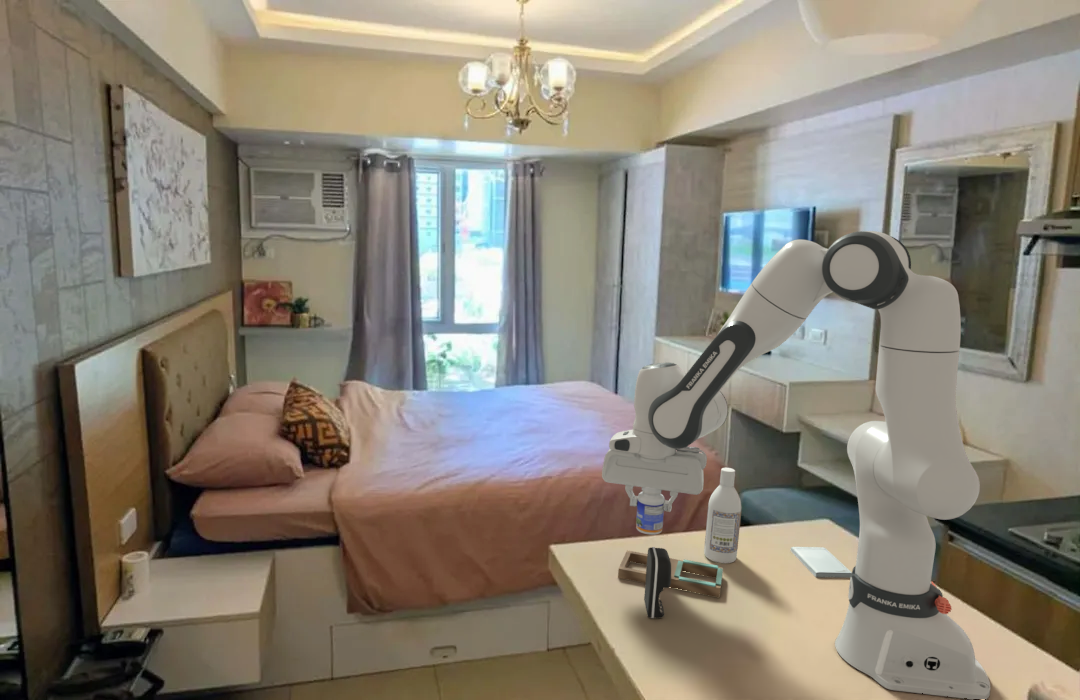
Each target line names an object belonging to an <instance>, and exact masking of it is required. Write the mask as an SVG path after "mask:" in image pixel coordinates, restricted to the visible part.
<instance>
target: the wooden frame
mask: <svg viewBox="0 0 1080 700" xmlns="http://www.w3.org/2000/svg"><path fill="white" fill-rule="evenodd" d="M647 555H648V553H643V552H639V551H633V550H628V549H627V550H626V552H625V554H624V556H623V558H622V560H621V562H620V565H619V567H618V570H617V571H618V572H617V573H618V574H617V579H623V580H626V581H631V582H636V583H642V584H645V582H646V570H640V569H634V568H630V567H629V565H630V564H631V563H633V564H634V563H635V564H640V565H645V566H647ZM669 558H670V562H671V585H670V587H671V588H670V589H672V588H678V589H682V590H687V591H691V592H690V593H692V592H696V593H695V594H697V593H700V594H699V595H703V594H704V596H708V595H709V596H708V597H712V598H713V597H714V598H718V597H719V598H718V599H720V596H721V588H722V582H723V575H724V573H723V571H724V568H723V567H720V566H719V565H716V564H710V563H706V562H700V561H694V560H688V559H683V560H682V559H677V558H671V557H669ZM682 571H686V572H690V573H689V574H691V573H695V574H694V575H697V574H699V575H698V576H702V575H704V576H703V577H707V576H708V578H713V579H715V582H712V581H711V582H710V581H705V580H700V579H696V578H690V577H689V578H688V577H684V576H682V575H683V572H682ZM686 572H685V573H686ZM682 590H681V591H682ZM687 591H686V592H687Z"/></svg>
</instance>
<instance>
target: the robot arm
mask: <svg viewBox="0 0 1080 700" xmlns="http://www.w3.org/2000/svg"><path fill="white" fill-rule="evenodd" d="M911 268H912V260H911V255H910V253H909V250H908V249H907V247H906V246H905V245H904V244H903V242H901V241H900V240H899V239H897V238H896V237H894V236H891V235H889V234H887V233H884V232H881V231H878V230H877V231H876V230H864V231H863V230H862V231H854V232H850V233H847V234H845V235H842V236H840V237H838V239H836V240H835V241H834V242H833V243H832V244H831V245H830V246H829V247H828V248H826V247H824V246H822V245H820V244H818V243H817V242H815V241H811V240H808V239H795V240H794V239H793V240H791V241H789V242H787V243H785V245H783V246H782V248H780V249H779V250H778V251H777V252H776V254H774V255H773V256H772V258H770V260H769V261H768V262H767V263H766V264H765V265H764V266H763V268H761V270H760V271H759V272H758V274H757V275H756V277H754V279H753V280H752V281H751V283H750V284H749V286H748V287H747V289H746V291H745V292H744V293H743V294H742V297H741V298H740V299H739V301H738V303H737V304H736V306H735V307H734V309H733V311H732V312H731V313H730V315H729V317H728V318H727V320H726V321H725V323H724V324H723V325H722V327H721V329H720V330H719V332H717V334H716V336H715V337H714V339H712V341H711V342H710V343H709V344H708V346H707V347H706V348H705V350H704V351H703V352H702V353H701V355H700V356H699V357H698V359H697V360H696V361H695V362H694V363H693V365H692V366H691V367H690V369H689V370H688V371H687V373H686V372H685V371H684V370H682V368H681V367H680V365H678V364H677V363H674V362H656V363H651V364H647V365H644V366H643V367H642V368H640V369H639V371H638V374H637V377H636V383H635V389H634V400H633V404H634V405H633V407H634V412H635V417H634V420H633V424H632V429H628V430H622V431H618V432H616V433H614V434H613V435H612V436H611V438H610V440H609V443H608V447H609V449H608V450H607V452H606V453H605V455H604V458H603V462H602V463H603V465H602V470H601V471H602V472H601V477H602V480H603V481H604V482H606V483H611V484H617V485H622V486H624V485H625V487H624V488H625V492H626V494H627V496H628V498H629V507H636V508H637V502H638V495H635V493H634V490H633V489H634V487H638V488H642V487H652V488H656V489H659V490H662V491H667V492H669V496H670V498H669V500H667V499H665V500H664V505H663V506H664V508H663V511H664V512H669V513H671V511H672V508H673V507H672V505H673V502H674V501H676V498H678V494H679V493H682V494H688V495H700V494H701V492H703V490H704V484H705V483H704V469H705V468H706V467H707V459H708V457H707V454H706V452H705V451H704V450H702V449H701V448H700V447H699V446H698V447H696V446H690V445H691V444H693V443H695V442H696V440H698V439H701V438H703V437H705V436H707V435H709V434H711V433H713V432H715V431H716V430H718V429H719V428H721V426H723V425H724V424H725V422H726V420H727V418H728V413H729V407H728V406H729V405H728V401H727V399H726V397H725V395H724V394H723V392H722V391H721V390H722V389H723V388H724V387H725V385H726V384H727V383H728V382H729V380H730V379H731V378H732V377H733V376H734V375H735V374H736V372H738V371H739V370H740V369H741V368H742V367H744V366H746V365H747V364H748V363H750V362H751V361H753V360H755V359H757V358H758V357H760V356H763V355H764V354H766V353H769V352H771V351H772V350H775V349H777V348H778V347H780V346H782V344H784V342H786V341H787V340H788V339H789V338H791V336H792V335H794V334H795V332H797V331H798V330H799V328H800V327H801V326H802V325H803V323H804V322H806V319H807V318H808V317H809V316H810V314H812V312H813V311H814V309H815V308H816V306H817V305H818V304H819V303H820V302H821V301H822V300H823V299H824V298H825V297H827V296H828V295H830V294H832V293H834V294H835V295H836V296H838V297H840V298H842V299H844V300H846V301H848V302H852V303H855V304H858V305H861V306H864V307H867V308H869V309H872V310H878V313H879V316H880V334H879V345H878V355H877V368H876V376H875V377H876V378H875V380H876V381H875V394H876V397H877V400H878V402H879V403H880V407H881V409H882V412H883V416H884V421H883V420H882V421H881V420H871V421H866V422H864V423H862V424H859V425H858V426H857V427H856V428H855V429H853V431H852V432H851V434H850V436H849V437H848V441H847V447H846V452H847V456H848V459H849V461H850V464H851V465H852V468H853V469H852V470H853V473H854V478H855V488H856V496H857V502H858V503H857V505H858V513H859V535H858V542H857V552H856V553H857V554H856V561H855V562H856V563H855V566H854V567H853V568H852V570H851V572H852V576H851V578H849V579H850V580H849V587H848V595H847V596H848V597H847V598H848V601H849V604H848V608H847V612H846V615H845V618H844V620H843V624H842V626H841V628H840V631H839V634H838V635H837V637H836V639H835V641H834V647H835V648H836V649H835V650H836V651H837V653H838V654H839V656H840V657H841V658H842V659H843V660H844V661H845V662H846V663H848V664H849V665H851V666H852V667H853V668H855V669H857V670H858V671H859V672H861V673H864V674H866V675H868V676H869V677H871V678H873V680H875V681H876V683H878V684H879V685H881V686H882V687H883V688H884V689H885V688H886V689H888V690H889V691H890V690H891V691H898V692H905V693H906V692H907V693H915V694H922V693H923V694H924V695H932V696H940V697H947V696H948V698H949V697H950V698H957V699H964V698H967V699H966V700H973V699H986V700H987V699H989V697H990V695H991V683H990V678H989V676H988V675H987V672H986V671H985V669H984V667H983V666H982V664H981V663H980V662H979V661H978V660H977V659H976V653H975V650H974V646H973V643H972V642H971V639H970V638H969V636H968V634H967V633H966V631H965V630H964V629H963V628H962V627H961V626H960V625H959V624H958V623H957V622H956V621H954V620H953V618H951V617H950V616H949V613H950V612H951V611H952V610H953V609H952V605H951V604H950V602H949V600H948V599H947V598H946V597H943V596H944V595H943V592H942V591H941V590H940V589H939V588H937V586H936V584H935V583H934V582H933V581H932V575H933V567H934V561H935V560H934V559H935V553H936V546H937V545H936V538H935V535H934V532H933V530H932V528H931V525H930V523H929V520H928V517H931V518H934V519H938V520H944V521H945V520H946V521H947V520H952V519H956V518H959V517H961V516H963V515H965V514H966V513H967V512H968V511H969V510H970V509H971V508H973V506H974V504H975V503H976V502H977V499H978V497H979V495H980V487H981V486H980V485H981V484H980V479H979V475H978V473H977V471H976V470H975V468H974V466H973V465H972V463H971V462H970V459H969V458H968V454H967V452H966V450H965V446H964V443H963V437H962V434H961V433H962V432H961V428H960V424H959V423H960V422H959V419H958V412H957V411H958V410H957V401H956V400H957V398H956V397H957V396H956V394H957V392H956V391H957V384H958V383H957V380H958V368H959V361H960V359H959V358H960V348H961V329H962V326H961V324H962V323H961V320H962V319H961V309H960V307H961V305H960V300H959V294H958V293H959V292H958V291H957V289H956V287H955V286H954V285H953V284H952V283H951V282H950V281H947V280H946V279H944V278H940V277H938V276H933V275H923V274H918V273H916V272H913V271H912V269H911Z"/></svg>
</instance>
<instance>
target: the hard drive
mask: <svg viewBox="0 0 1080 700" xmlns="http://www.w3.org/2000/svg"><path fill="white" fill-rule="evenodd" d="M790 553H792V554H793V555H794V556H795V558H797V559H798V560H799V561H800V563H801V564H802V565H803V566H804V567H805V568H806V569H807V570H808V571H809V572H810V573H811V574H812V575H813V576H814V577H815V578H840V579H841V578H846V579H847V578H848V579H850V578H851V576H852V570H850V569H849V568H848V567H847V566H845V565H844V564H843V562H841V561H840V560H839V559H838V558H837V557H836V556H835V555H834V554H833V553H832V552H831V551H829V550H828V549H827V548H826V547H823V546H821V547H819V546H818V547H817V546H791V547H790Z"/></svg>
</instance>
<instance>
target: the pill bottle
mask: <svg viewBox="0 0 1080 700" xmlns="http://www.w3.org/2000/svg"><path fill="white" fill-rule="evenodd" d="M662 492H663V490H659V489H656V488H652V487H641V491H640V492H639V493H638V495H637V496H638V502H637V507H636V521H635V525H636V527H635V528H636V530H637V531H638V532H639V533H641V534H645V535H650V536H651V535H653V536H654V535H658V534H661V533H662V531H663V525H664V512H665V511H663V508H664V506H663V505H664V501H665V500H666V499H665V496H664V495H663V494H662Z"/></svg>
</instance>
